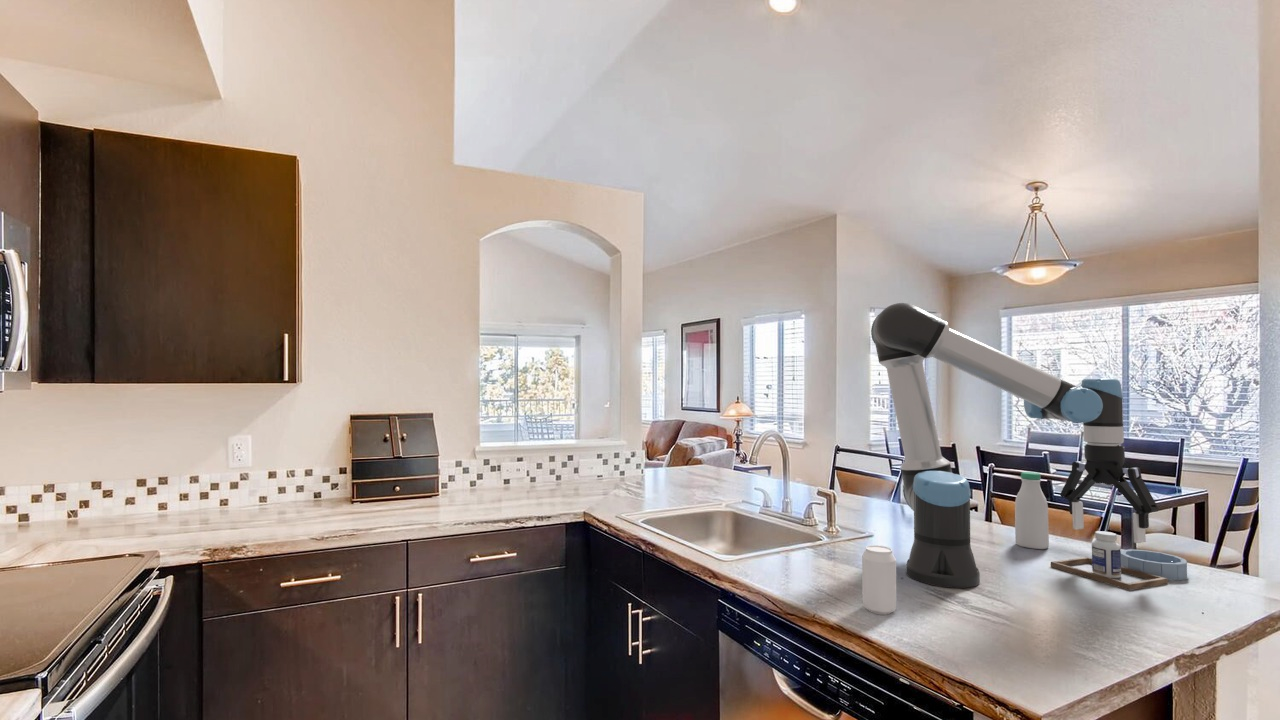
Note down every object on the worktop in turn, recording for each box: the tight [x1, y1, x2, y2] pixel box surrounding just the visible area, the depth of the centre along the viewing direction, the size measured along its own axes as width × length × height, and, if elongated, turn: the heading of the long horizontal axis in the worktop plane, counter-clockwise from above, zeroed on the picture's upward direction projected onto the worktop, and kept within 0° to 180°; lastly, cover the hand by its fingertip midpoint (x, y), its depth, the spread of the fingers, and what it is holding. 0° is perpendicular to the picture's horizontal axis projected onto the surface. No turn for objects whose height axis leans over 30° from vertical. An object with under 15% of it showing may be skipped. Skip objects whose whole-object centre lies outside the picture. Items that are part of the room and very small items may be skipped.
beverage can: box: [861, 544, 897, 616], centre depth 120 cm, size 6×6×12 cm
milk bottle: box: [1014, 471, 1050, 550], centre depth 168 cm, size 8×8×20 cm
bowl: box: [1121, 548, 1188, 581], centre depth 145 cm, size 12×12×4 cm
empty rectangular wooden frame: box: [1050, 556, 1168, 591], centre depth 143 cm, size 13×18×1 cm
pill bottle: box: [1091, 530, 1122, 579], centre depth 143 cm, size 5×5×10 cm
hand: (1107, 535), depth 143 cm, fingers open, 13 cm apart
